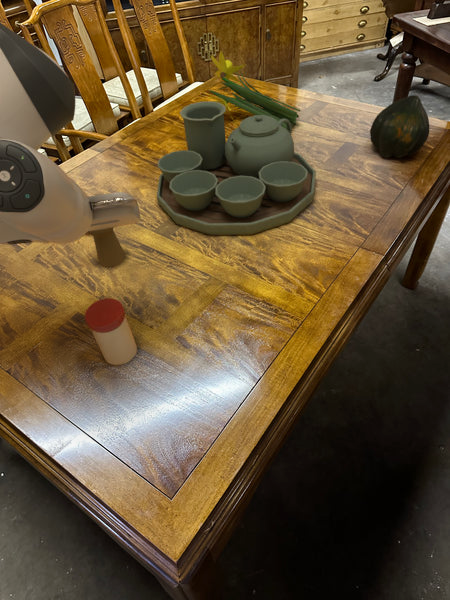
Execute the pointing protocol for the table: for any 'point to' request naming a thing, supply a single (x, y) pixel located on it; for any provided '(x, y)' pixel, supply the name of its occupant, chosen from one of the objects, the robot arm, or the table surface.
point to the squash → (400, 128)
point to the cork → (108, 248)
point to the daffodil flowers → (249, 95)
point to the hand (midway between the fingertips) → (84, 227)
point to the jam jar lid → (105, 315)
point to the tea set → (234, 174)
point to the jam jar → (117, 344)
